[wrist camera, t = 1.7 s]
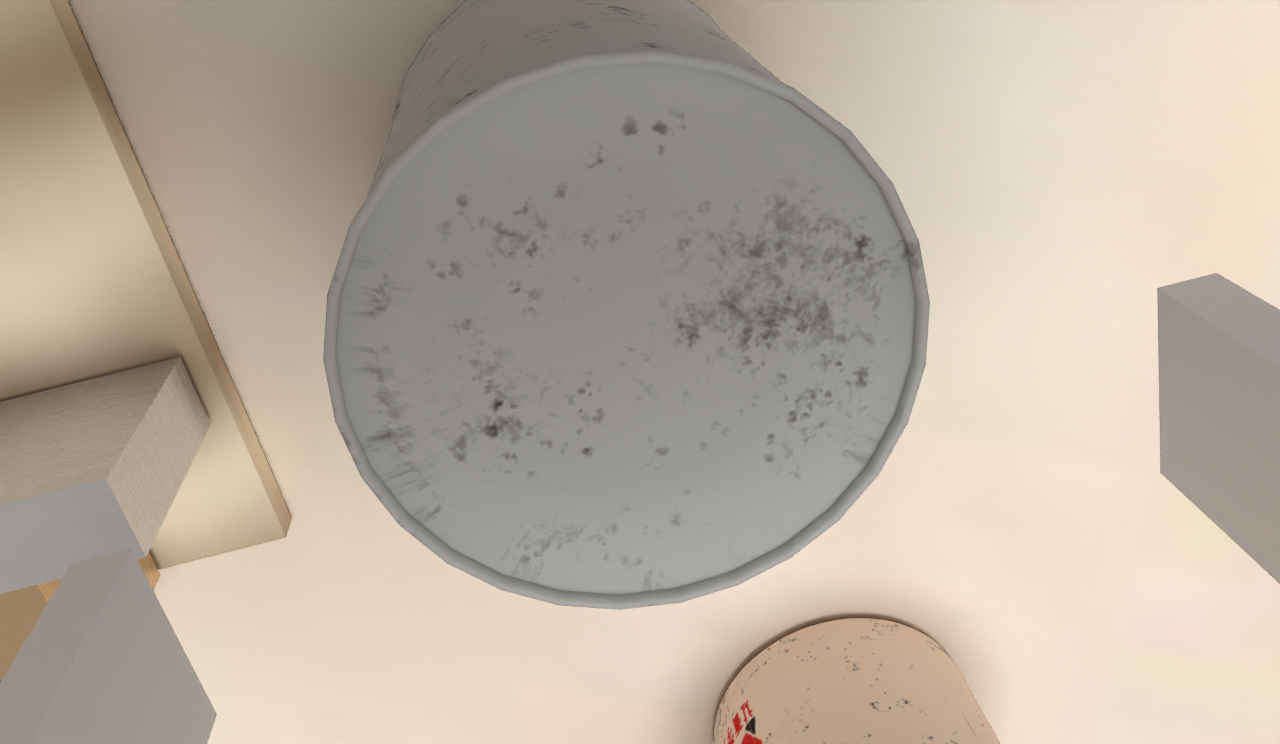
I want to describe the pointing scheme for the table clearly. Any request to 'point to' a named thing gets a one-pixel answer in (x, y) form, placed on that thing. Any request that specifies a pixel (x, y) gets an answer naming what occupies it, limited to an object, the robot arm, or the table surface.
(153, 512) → the slide jaw
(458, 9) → the gray cylinder
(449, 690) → the table surface
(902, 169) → the table surface
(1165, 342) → the robot arm
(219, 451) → the press
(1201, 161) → the table surface
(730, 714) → the teacup with lid
